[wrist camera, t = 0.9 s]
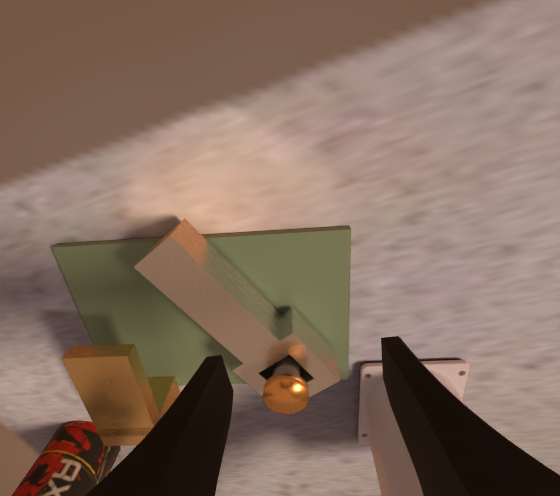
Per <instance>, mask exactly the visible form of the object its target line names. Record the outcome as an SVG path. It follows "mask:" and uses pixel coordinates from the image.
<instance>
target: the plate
mask: <svg viewBox="0 0 560 496" xmlns="http://www.w3.org/2000/svg"><path fill="white" fill-rule="evenodd" d="M202 236H203V237H204V238H205V239H206V240H207V241H208V242H209V243H210V244H211V245H212V246H213V247H214V248H215V249H216V250H217V251H218V252H219V253H220V254H221V255H222V256H223V257H224V258H225V259H226V260H227V261H228V262H229V263H230V264H231V265H232V266H233V267H234V268H235V269H236V270H237V271H238V272H239V273H240V274H241V275H242V276H243V277H244V278H245V279H246V280H247V281H248V282H249V283H250V284H251V285H252V286H253V287H254V288H255V289H256V290H257V291H258V292H259V293H260V294H261V295H262V296H263V297H264V298H265V299H266V300H267V301H268V302H269V303H270V304H271V305H272V306H273V307H274V308H275V309H276V310H277V311H278V312H279V313H280V314H283V313H284V312H286V311H288V310H289V309H291V308H293V309H294V310H295V311H296V312H297V313H298V314H299V315H300V316H301V317H302V318H303V319H304V320H305V321H306V322H307V323H308V324H309V325H310V326H311V327H312V328H313V329H314V330H315V331H316V332H317V334H318V335H319V336H320V337H321V338H322V339H323V340H324V341H325V342H326V343H327V344H328V345H329V346H330V347H331V348H332V349H333V350H334V351H335V353H336V359H337V365H338V371H339V376H340V380H348V361H349V308H350V255H351V228H350V226H337V227H320V228H304V229H288V230H271V231H255V232H239V233H222V234H206V235H202ZM162 238H163V237H157V238H141V239H124V240H108V241H92V242H76V243H59V244H56V245H55V246H53V247H52V249H53V252H54V254H55V256H56V259H57V261H58V263H59V266H60V268H61V270H62V273H63V275H64V277H65V280H66V282H67V284H68V287H69V289H70V291H71V294H72V296H73V298H74V301H75V303H76V305H77V308H78V310H79V312H80V315H81V317H82V319H83V322H84V324H85V326H86V329H87V331H88V333H89V336H90V338H91V340H92V343H93V345H94V346H99V345H124V344H135V346H136V349H137V352H138V355H139V357H140V360H141V363H142V366H143V369H144V371H145V374H146V377H166V376H175V377H176V381H177V384H178V385H187V383H188V382H189V381H190V379H191V378H192V376H193V375H194V374H195V372H196V371H197V369H198V368H199V366H200V365H201V364H202V362H203V361H204V359H205V358H206V357H208V356H217V355H222V358H223V361H224V364H225V367H226V370H227V373H228V376H229V379H230V382H231V384H234V383H246V382H245V381H244V380H242V379H241V378H240V377H239V376H238V375H237V374H235V373H234V372H233V371H232V369H233V364H234V359H235V356H234V355H233V354H232V353H231V352H230V351H228V350H227V349H226V348H225V347H224V346H223V345H222V344H221V343H219V342H218V341H217V340H216V339H215V338H214V337H213V336H211V335H210V334H209V333H208V332H207V331H206V330H205V329H203V328H202V327H201V326H200V325H199V324H198V323H197V322H195V321H194V320H193V319H192V318H191V317H190V316H189V315H187V314H186V313H185V312H184V311H183V310H182V309H181V308H179V307H178V306H177V305H176V304H175V303H174V302H173V301H171V300H170V299H169V298H168V297H167V296H166V295H165V294H164V293H162V292H161V291H160V290H159V289H158V288H157V287H156V286H154V285H153V284H152V283H151V282H150V281H149V280H148V279H146V278H145V277H144V276H143V275H142V274H141V273H140V272H138V271H137V270H136V269H135V268H134V266H135V265H136V264H137V263H138V262H139V261H140V259H141V258H142V257H143V256H144V255H145V254H146V253H147V252H148V251H149V250H150V249H151V247H152V246H154V245H155V244H156V243H157V242H158V241H159V240H161V239H162Z"/></svg>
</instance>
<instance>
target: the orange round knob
mask: <svg viewBox="0 0 560 496" xmlns="http://www.w3.org/2000/svg"><path fill="white" fill-rule="evenodd" d="M263 401H264V403H265V405H266V406H267V407H268V408H269V409H271V410H272V411H274V412H277V413H281V414H292V413H296V412H299V411H301V410H302V409H304V408H305V407H306V406H307V404H308V402H309V387H308V385H307V383H306V381H305V380H304V379H302V378H301V377H300V364H299V363H298V362H297V361H296V360H295V359H294V358H293V357H291V356H290V355H288V356H286V357H284V358H283V359H281V360H279V361H278V362H276V363H274V364H273V375H272V377H271V378H269V379H268V380H267V381H266V382H265V384H264V389H263Z"/></svg>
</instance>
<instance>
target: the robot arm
mask: <svg viewBox="0 0 560 496" xmlns="http://www.w3.org/2000/svg"><path fill="white" fill-rule="evenodd" d="M381 345H382V363H366V364H363V365H362V366H361V371H360V395H359V420H358V443H359V444H360V445H361V446H371V450H372V454H373V459H374V463H375V467H376V472H377V476H378V481H379V485H380V489H381V494H382V496H560V475H558V474H557V473H555V472H554V471H552V470H551V469H549V468H548V467H546V466H545V465H543V464H542V463H540V462H539V461H537V460H536V459H535V458H533V457H532V456H530V455H529V454H527V453H526V452H525V451H523V450H522V449H520V448H519V447H517V446H516V445H515V444H513V443H512V442H510V441H509V440H508V439H506V438H505V437H504V436H502V435H501V434H500V433H499V432H497V431H496V430H495V429H493V428H492V427H491V426H489V425H488V424H487V423H486V422H485V421H483V420H482V419H481V418H480V417H478V416H477V415H476V414H475V413H474V412H472V411H471V410H470V409H469V408H468V407H467V406H466V405H465V403H464V402H463V400H462V397H463V393H464V389H465V385H466V381H467V376H468V372H469V368H470V366H469V364H468V363H467V361H465V360H445V361H420V360H419V359H418V358H417V357H416V356H415V355H414V354H413V352H412V351H411V350H410V349H409V348H408V347H407V345H406V344H405V343H404V342H403V341H402V339H401V338H400V337H398V336H396V337H386V338H381ZM366 374H368V375H366ZM232 403H233V389H232V386H231V382H230V379H229V376H228V373H227V370H226V367H225V364H224V361H223V358H222V355H217V356H208V357H206V358H205V359H204V361H203V362H202V364H201V365H200V366H199V368H198V369H197V371H196V372H195V374H194V375H193V376H192V378H191V379H190V381H189V382H188V383H187V385H186V386H185V388H184V389H183V390H182V392H181V393H180V394H179V396H178V397H177V398H176V400H175V401H174V402H173V404H172V405H171V406H170V408H169V409H168V410H167V411H166V413H165V414H164V415H163V416H162V417H161V419H160V420H159V421H158V422H157V424H156V425H155V426H154V427H153V428H152V430H151V431H150V432H149V433H148V434H147V435H146V436H145V438H144V439H143V440H142V441H141V442H140V443H139V444H138V445H137V446H136V447H135V448H134V449H133V451H132V452H131V453H130V454H129V455H128V456H127V457H126V458H125V459H124V460H123V461H121V462H120V463H119V464H118V465H117V466H116V467H115V468H114V469H113V470H112V471H111V472H110V473H109V474H108V475H107V476H106V477H105V478H104V479H103V480H102V481H101V482H99V483H98V484H97V485H96V486H95V487H94V488H93V489H92V490H90V491H89V492H88V493H87V494H86V495H85V496H215V491H216V486H217V480H218V476H219V471H220V467H221V462H222V458H223V453H224V448H225V444H226V439H227V434H228V430H229V425H230V420H231V412H232Z"/></svg>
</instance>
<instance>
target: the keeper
mask: <svg viewBox="0 0 560 496" xmlns="http://www.w3.org/2000/svg"><path fill="white" fill-rule="evenodd" d="M62 361H63V363H64V365H65V367H66V369H67V371H68V373H69V375H70V377H71V379H72V381H73V383H74V385H75V387H76V389H77V391H78V393H79V395H80V397H81V399H82V401H83V403H84V405H85V407H86V409H87V411H88V413H89V415H90V417H91V419H92V421H93V423H94V425H95V427H96V429H97V431H98V433H99V436H100V438H101V440H102V442H103V444H104V446H125V445H138V444H139V443H140V442H141V441H142V440H143V439H144V438H145V436H146V435H147V434H148V433H149V432H150V431H151V430H152V428H153V427H154V426H155V425H156V424H157V422H158V421H159V420H160V419H161V417H162V416H163V415H164V414H165V413H166V411H167V410H168V409H169V408H170V406H171V405H172V404H173V402H174V401H175V400H176V398H177V397H178V396H179V394H180V390H179V387H178V384H177V381H176V377H175V376H166V377H146V374H145V371H144V369H143V366H142V363H141V360H140V357H139V355H138V352H137V349H136V346H135V344H124V345H99V346H74V347H71V348H70V349H69V350H68V352H67V353H66V354H65V355H64V356H63V357H62Z"/></svg>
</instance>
